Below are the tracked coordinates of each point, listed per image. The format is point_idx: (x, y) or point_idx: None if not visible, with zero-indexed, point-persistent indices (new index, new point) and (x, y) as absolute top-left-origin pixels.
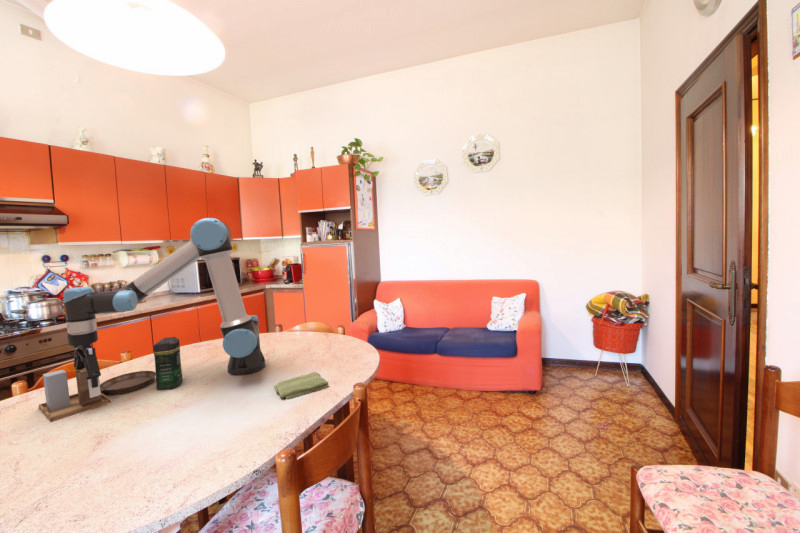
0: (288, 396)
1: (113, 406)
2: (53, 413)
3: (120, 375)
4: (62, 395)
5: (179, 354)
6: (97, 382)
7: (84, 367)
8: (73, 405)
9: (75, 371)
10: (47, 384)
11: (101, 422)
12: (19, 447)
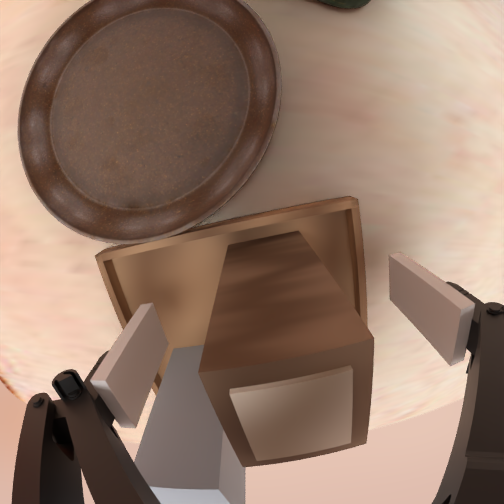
0: None
1: (400, 192)
2: None
3: (21, 146)
4: None
5: None
6: (469, 295)
7: (90, 394)
8: None
9: (243, 462)
10: (244, 485)
11: (491, 245)
12: (444, 394)
